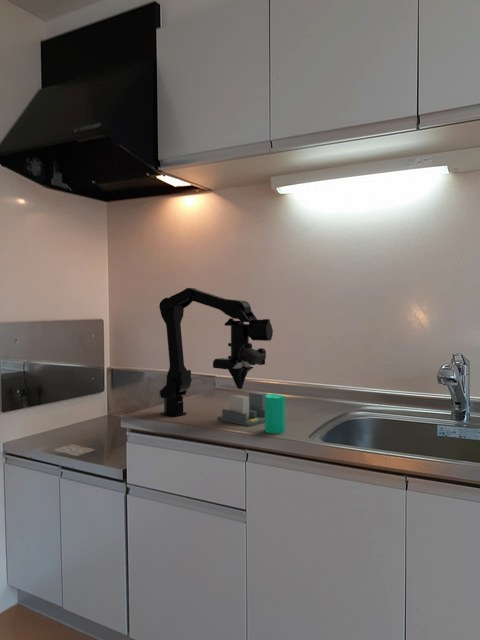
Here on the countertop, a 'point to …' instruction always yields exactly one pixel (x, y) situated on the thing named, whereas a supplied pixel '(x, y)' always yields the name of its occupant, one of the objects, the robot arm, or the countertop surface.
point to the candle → (274, 413)
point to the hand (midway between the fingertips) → (239, 388)
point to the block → (239, 404)
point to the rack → (254, 411)
